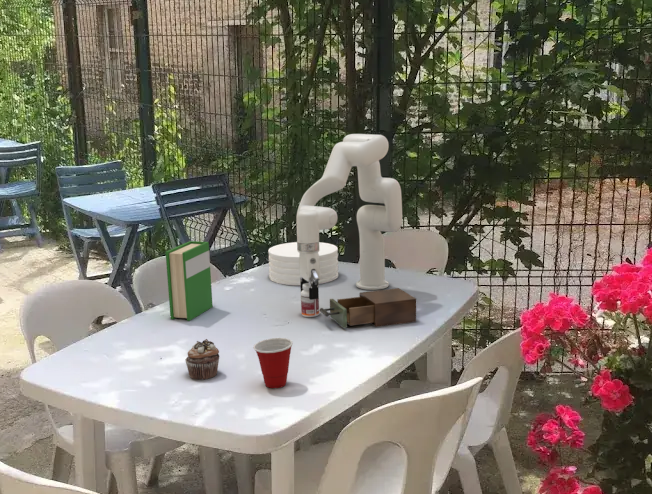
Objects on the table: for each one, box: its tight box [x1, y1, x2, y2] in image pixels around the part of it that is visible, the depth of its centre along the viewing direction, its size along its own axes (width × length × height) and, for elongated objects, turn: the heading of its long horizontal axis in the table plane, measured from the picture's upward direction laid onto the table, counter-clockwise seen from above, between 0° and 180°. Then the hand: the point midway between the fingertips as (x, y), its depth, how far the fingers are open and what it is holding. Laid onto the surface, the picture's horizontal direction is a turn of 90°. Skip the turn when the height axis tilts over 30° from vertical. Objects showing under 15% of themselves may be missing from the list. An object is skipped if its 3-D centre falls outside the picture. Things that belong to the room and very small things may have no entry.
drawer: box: [319, 296, 375, 329], centre depth 286 cm, size 18×13×6 cm
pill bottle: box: [300, 283, 320, 318], centre depth 296 cm, size 6×6×11 cm
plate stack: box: [268, 241, 339, 286], centre depth 348 cm, size 28×28×12 cm
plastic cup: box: [252, 337, 294, 389], centre depth 234 cm, size 11×11×12 cm
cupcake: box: [184, 338, 220, 381], centre depth 243 cm, size 10×10×10 cm
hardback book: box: [165, 240, 214, 322], centre depth 301 cm, size 18×7×24 cm, turn 159°
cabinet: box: [358, 287, 417, 328], centre depth 290 cm, size 15×15×8 cm
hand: (309, 295), depth 295 cm, fingers open, 9 cm apart
